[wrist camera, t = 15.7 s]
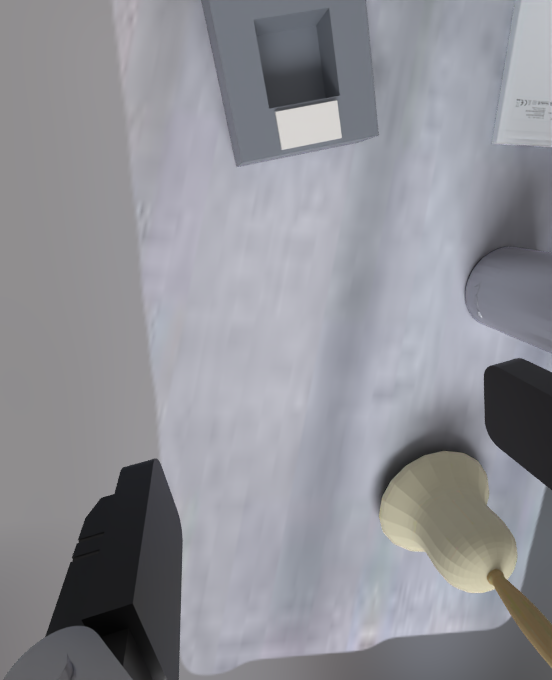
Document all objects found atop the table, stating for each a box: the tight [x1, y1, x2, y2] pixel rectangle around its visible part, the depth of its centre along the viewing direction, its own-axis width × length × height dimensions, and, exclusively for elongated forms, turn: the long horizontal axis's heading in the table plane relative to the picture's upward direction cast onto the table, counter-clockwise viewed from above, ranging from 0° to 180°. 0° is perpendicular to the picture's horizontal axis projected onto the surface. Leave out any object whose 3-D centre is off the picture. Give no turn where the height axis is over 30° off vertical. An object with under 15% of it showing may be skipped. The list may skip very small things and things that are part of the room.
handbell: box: [379, 451, 552, 668], centre depth 44 cm, size 15×15×25 cm
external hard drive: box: [491, 0, 552, 147], centre depth 41 cm, size 2×8×12 cm
